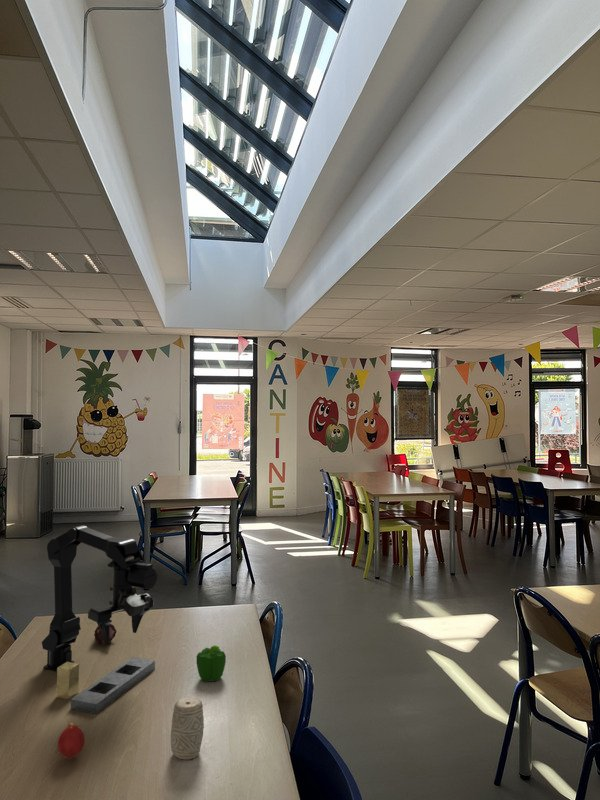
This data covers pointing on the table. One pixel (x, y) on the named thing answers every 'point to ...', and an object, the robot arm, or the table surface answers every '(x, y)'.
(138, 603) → the robot arm
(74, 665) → the brass peg
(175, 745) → the carving
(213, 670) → the bell pepper
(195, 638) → the table surface
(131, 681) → the rail
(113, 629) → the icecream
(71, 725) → the onion
